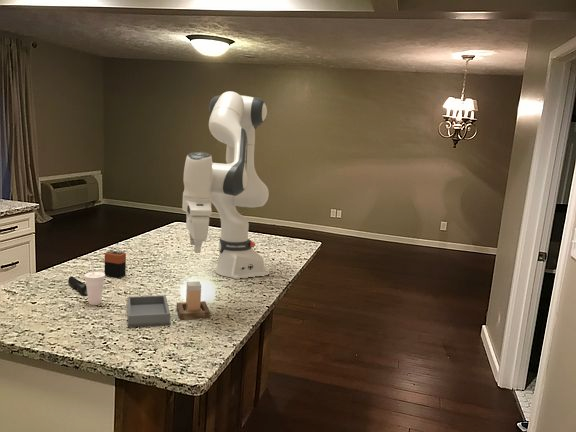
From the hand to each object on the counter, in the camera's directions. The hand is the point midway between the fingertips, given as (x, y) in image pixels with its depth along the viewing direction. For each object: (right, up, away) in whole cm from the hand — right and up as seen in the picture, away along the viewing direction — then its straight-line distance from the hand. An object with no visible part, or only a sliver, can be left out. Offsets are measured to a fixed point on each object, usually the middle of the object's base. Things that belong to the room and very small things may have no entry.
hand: (195, 248), depth 153 cm
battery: (-37, -13, +34) cm, 52 cm away
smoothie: (-34, -18, +6) cm, 39 cm away
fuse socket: (-2, -21, +4) cm, 22 cm away
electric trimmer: (-44, -16, +17) cm, 50 cm away
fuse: (-2, -21, +4) cm, 22 cm away
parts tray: (-15, -21, -1) cm, 26 cm away
